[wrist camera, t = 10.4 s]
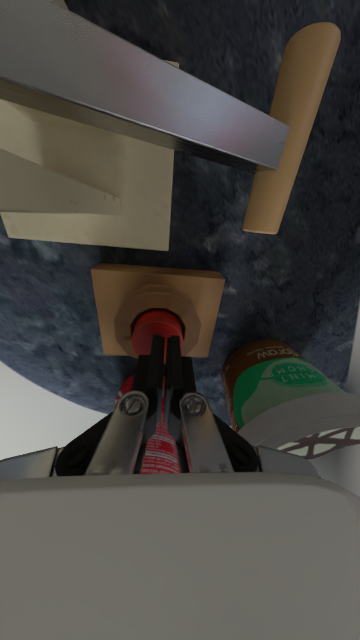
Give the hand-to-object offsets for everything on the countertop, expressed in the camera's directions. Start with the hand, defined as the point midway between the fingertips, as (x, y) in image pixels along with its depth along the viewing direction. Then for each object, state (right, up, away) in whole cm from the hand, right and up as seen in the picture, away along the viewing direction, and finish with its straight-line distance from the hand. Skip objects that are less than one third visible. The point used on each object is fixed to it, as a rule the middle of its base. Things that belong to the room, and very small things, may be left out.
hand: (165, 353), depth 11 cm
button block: (-1, +3, +6) cm, 6 cm away
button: (-1, +1, +2) cm, 3 cm away
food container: (+10, -2, +9) cm, 14 cm away
